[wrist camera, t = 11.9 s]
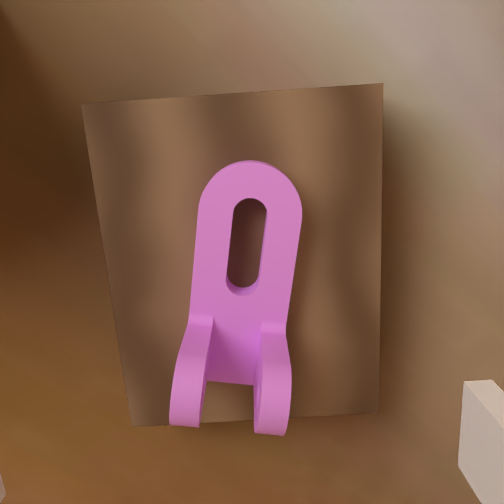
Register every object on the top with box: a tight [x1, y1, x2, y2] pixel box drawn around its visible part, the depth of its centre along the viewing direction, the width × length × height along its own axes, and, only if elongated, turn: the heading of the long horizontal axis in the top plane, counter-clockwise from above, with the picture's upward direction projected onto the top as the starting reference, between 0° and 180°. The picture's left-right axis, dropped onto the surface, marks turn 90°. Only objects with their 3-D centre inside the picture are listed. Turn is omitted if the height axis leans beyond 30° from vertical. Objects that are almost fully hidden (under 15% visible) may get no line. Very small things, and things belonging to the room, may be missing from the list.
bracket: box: [169, 160, 302, 436], centre depth 23 cm, size 13×6×7 cm, turn 173°
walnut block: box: [81, 83, 383, 427], centre depth 29 cm, size 16×20×5 cm
